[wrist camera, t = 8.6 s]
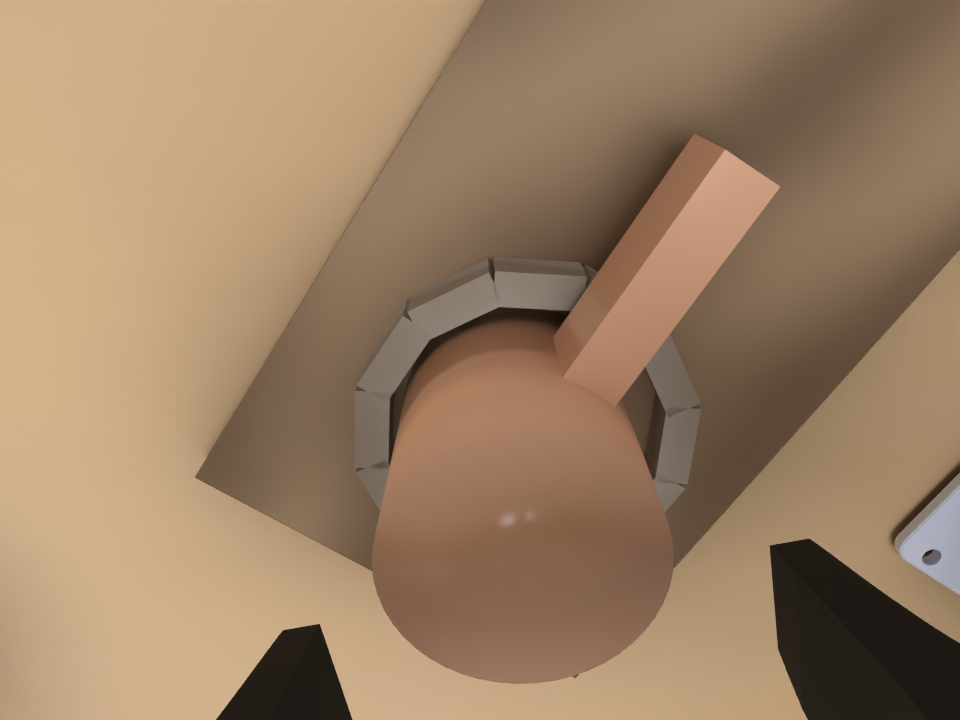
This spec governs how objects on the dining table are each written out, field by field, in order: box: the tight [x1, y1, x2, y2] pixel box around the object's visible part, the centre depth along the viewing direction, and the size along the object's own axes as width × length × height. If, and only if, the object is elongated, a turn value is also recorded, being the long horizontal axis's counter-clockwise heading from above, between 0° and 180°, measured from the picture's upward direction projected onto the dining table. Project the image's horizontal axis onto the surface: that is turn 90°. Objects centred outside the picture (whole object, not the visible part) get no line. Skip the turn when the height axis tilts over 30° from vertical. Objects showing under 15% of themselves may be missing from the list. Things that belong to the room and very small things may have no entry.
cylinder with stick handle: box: [372, 134, 780, 684], centre depth 16 cm, size 10×5×6 cm, turn 149°
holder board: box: [195, 0, 960, 678], centre depth 19 cm, size 12×22×2 cm, turn 146°
